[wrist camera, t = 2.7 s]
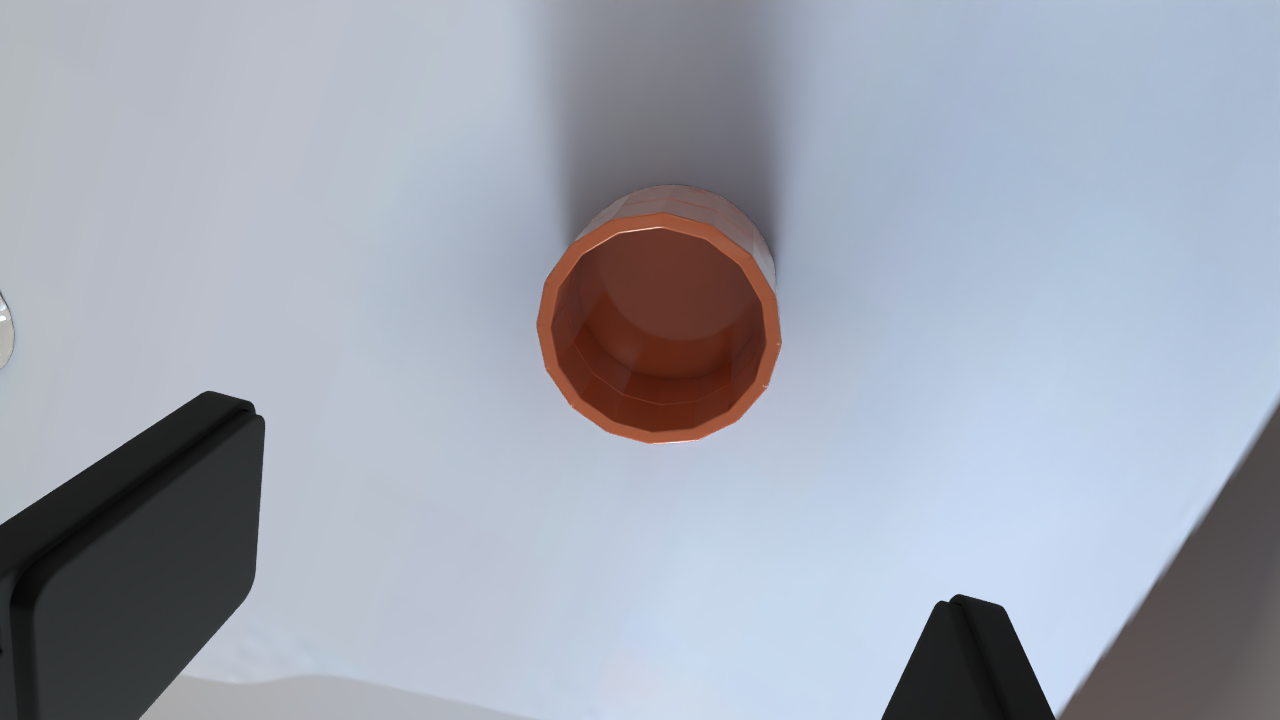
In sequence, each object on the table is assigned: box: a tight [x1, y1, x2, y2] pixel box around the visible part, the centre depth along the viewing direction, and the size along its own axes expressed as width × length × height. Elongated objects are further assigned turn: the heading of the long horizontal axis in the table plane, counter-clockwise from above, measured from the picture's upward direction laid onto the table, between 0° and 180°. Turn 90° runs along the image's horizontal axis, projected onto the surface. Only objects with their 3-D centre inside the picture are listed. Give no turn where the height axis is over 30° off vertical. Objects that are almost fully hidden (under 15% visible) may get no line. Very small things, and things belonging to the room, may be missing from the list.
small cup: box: [536, 184, 782, 444], centre depth 24 cm, size 6×6×4 cm
